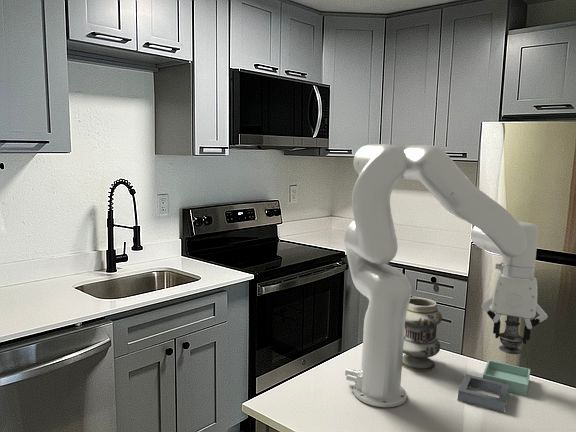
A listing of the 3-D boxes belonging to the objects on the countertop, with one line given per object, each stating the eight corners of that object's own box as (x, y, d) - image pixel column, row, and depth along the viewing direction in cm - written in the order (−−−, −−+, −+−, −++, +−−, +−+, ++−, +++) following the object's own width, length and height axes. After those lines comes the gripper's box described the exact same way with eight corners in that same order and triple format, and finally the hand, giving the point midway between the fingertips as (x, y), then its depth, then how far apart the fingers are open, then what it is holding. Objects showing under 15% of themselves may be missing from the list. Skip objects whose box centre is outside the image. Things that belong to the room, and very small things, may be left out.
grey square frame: (457, 400, 119) (458, 390, 118) (464, 383, 128) (465, 373, 127) (504, 412, 114) (505, 402, 114) (508, 393, 123) (509, 384, 123)
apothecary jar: (406, 351, 147) (410, 292, 144) (445, 363, 139) (451, 301, 137) (386, 363, 138) (390, 301, 135) (427, 377, 130) (432, 311, 128)
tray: (481, 385, 127) (482, 374, 126) (487, 370, 136) (488, 359, 136) (526, 396, 122) (527, 384, 122) (529, 379, 131) (530, 369, 131)
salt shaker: (515, 345, 131) (519, 301, 129) (526, 354, 125) (531, 309, 123) (493, 345, 131) (497, 301, 129) (503, 354, 125) (508, 308, 123)
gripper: (479, 269, 126) (473, 337, 128) (556, 279, 117) (548, 351, 120) (483, 263, 132) (477, 328, 135) (556, 273, 124) (548, 341, 127)
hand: (510, 338), depth 127 cm, fingers closed on salt shaker, 5 cm apart
